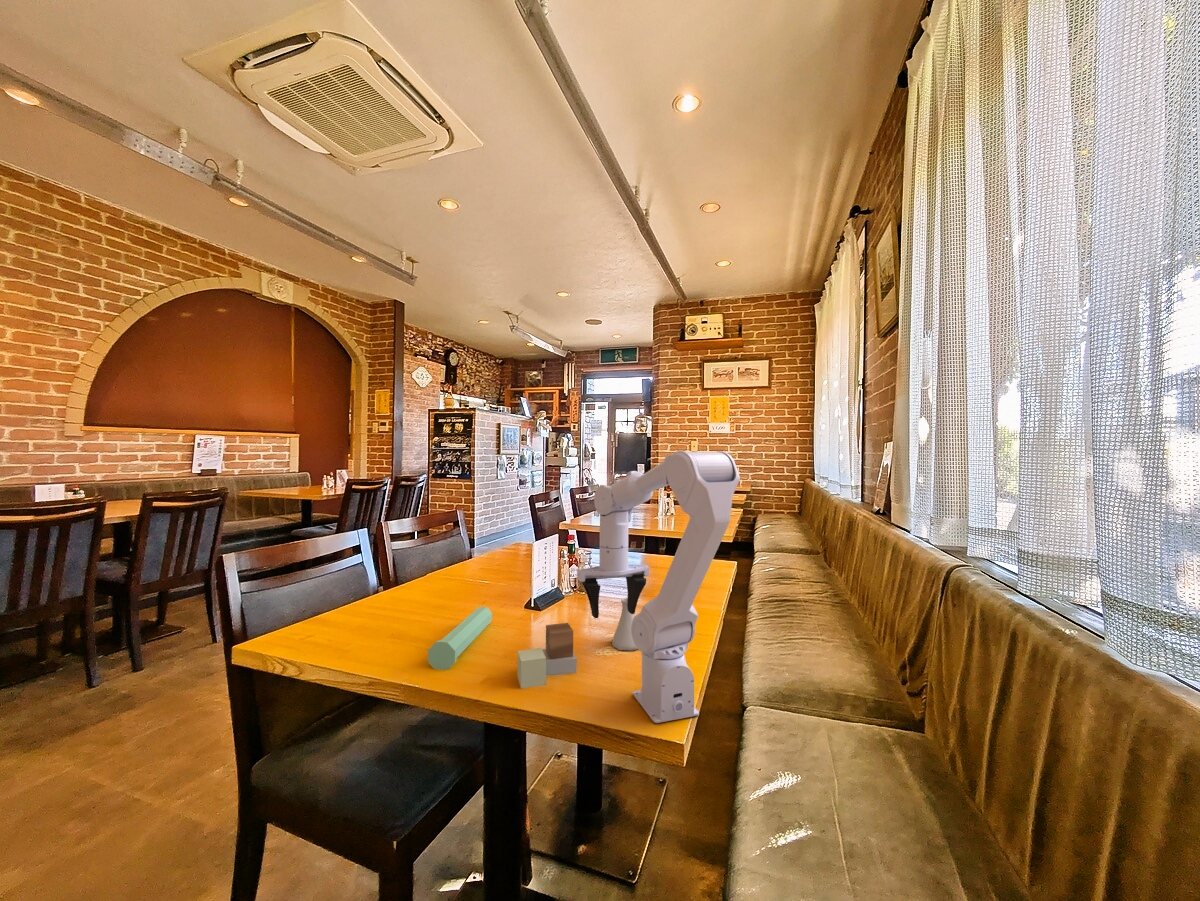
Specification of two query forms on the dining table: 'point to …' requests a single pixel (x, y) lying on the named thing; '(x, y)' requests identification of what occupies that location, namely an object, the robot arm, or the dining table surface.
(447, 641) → the green octagonal rod
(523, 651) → the sage block
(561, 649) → the walnut block
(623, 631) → the flask
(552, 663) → the stone slab
